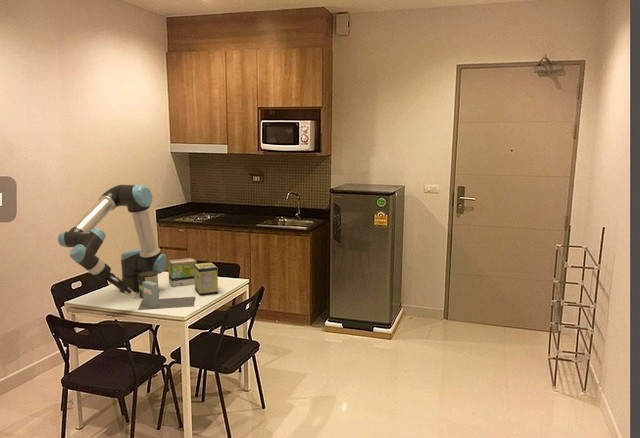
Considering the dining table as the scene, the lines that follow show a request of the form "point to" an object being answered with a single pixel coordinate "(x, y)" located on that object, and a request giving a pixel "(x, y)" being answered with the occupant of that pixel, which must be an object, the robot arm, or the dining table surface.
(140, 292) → the coffee can
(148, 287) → the blue-grey box
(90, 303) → the dining table surface
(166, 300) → the mat
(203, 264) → the protein box
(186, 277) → the tea box
